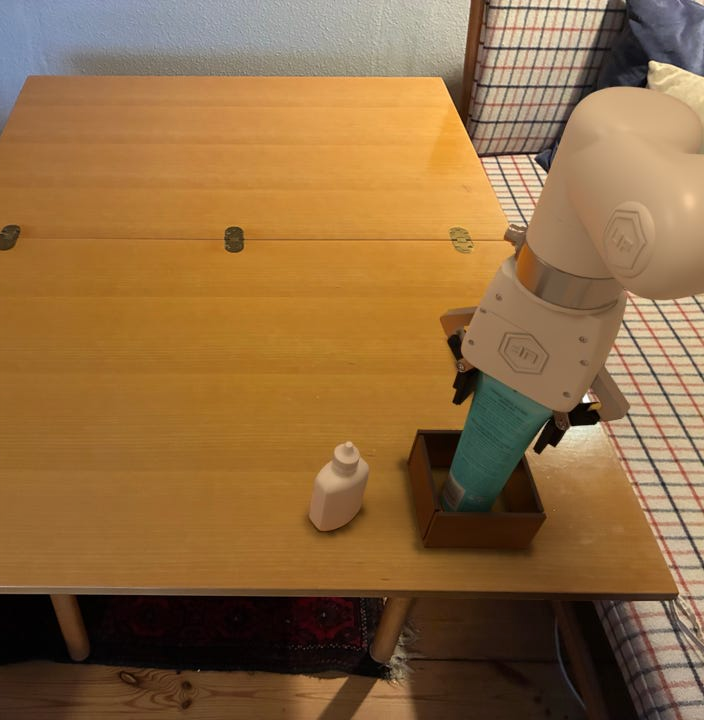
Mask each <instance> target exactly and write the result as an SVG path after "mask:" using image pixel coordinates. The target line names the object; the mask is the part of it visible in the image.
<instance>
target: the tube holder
mask: <svg viewBox="0 0 704 720" xmlns="http://www.w3.org/2000/svg"><path fill="white" fill-rule="evenodd" d="M462 431H463V429H421V428H420V429H416V433H415V436H414V439H413V441H412V445H411V449H410V452H409V455H408V457H407V460H406V465H407V467H408V468H407V469H408V474H409V480H410V485H411V490H412V496H413V500H414V505H415V510H416V515H417V519H418V525H419V531H420V534H421V539H422V544H423V548H447V549H448V548H449V549H451V548H452V549H517V550H518V549H520V550H521V549H523V550H525V549H526V550H527V549H528V548H529V547H530V545H531V544H532V542H533V540H534V539H535V537H536V535H537V534H538V532H539V531H540V529H541V528H542V526H543V524H544V523H545V521H546V519H547V518H548V517H547V513H546V512H545V507H544V505H543V502H542V499H541V496H540V493H539V491H538V487H537V485H536V482H535V479H534V476H533V473H532V471H531V468H530V465H529V462H528V459H527V456H526V452H525V453H524V454H523V456H522V458H521V459H520V461H519V462H518V464H517V465H516V467H515V469H514V470H513V472H512V473H511V475H510V477H509V478H508V480H507V482H506V483H505V485H504V487H503V489H504V493H505V496H506V499H507V502H508V506H509V509H510V512H502V511H501V512H496V511H495V512H494V511H493V512H491V511H489V512H445V511H441V507H440V503H439V497H438V494H437V489H436V484H435V481H434V476H433V472H432V468H431V467H444V468H445V467H449V468H451V465H452V462H453V459H454V456H455V453H456V450H457V447H458V444H459V441H460V438H461V434H462Z"/></svg>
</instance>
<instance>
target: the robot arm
mask: <svg viewBox="0 0 704 720" xmlns="http://www.w3.org/2000/svg"><path fill="white" fill-rule="evenodd" d="M703 133H704V129H703V123H702V120H701V118H700V116H699V114H698V113H697V112H696V110H695V109H693V107H692V106H690V105H689V104H688V103H686V102H684V101H683V100H682V99H679V98H677V97H675V96H673V95H670V94H667V93H665V92H661V91H659V90H655V89H650V88H644V87H638V86H637V87H636V86H612V87H605V88H602V89H599V90H596V91H594V92H592V93H589V94H588V95H587V96H585V97H584V98H583V99H581V100H580V101H579V102H578V103H577V104H576V105H575V107H574V109H573V110H572V112H571V114H570V115H569V118H568V119H567V122H566V125H565V128H564V131H563V134H562V135H561V139H560V141H559V144H558V147H557V148H556V152H555V154H554V157H553V160H552V162H551V165H550V167H549V170H548V173H547V176H546V179H545V181H544V183H543V186H542V189H541V191H540V194H539V197H538V199H537V203H536V205H535V208H534V210H533V213H532V214H531V215H532V216H531V218H530V221H529V224H528V225H527V226H524V225H521V226H520V225H517V224H514V223H511V224H510V225H509V226H508V228H507V229H506V230H505V232H504V235H503V241H505V242H508V243H510V244H511V246H512V247H514V252H515V253H513V254H511V256H508V257H507V258H506V259H504V260H503V262H502V263H501V264H500V266H499V267H498V269H497V270H496V272H495V274H494V275H493V277H492V279H491V280H490V281H489V283H488V285H487V287H486V289H485V291H484V293H483V295H482V297H481V299H480V301H479V303H478V305H476V306H468V307H458V308H457V307H456V308H449V309H448V310H446V311H445V312H444V313H443V314H442V315H441V316H440V317H439V323H440V324H441V327H442V330H443V331H444V334H445V336H447V338H448V339H446V341H447V346H448V347H449V349H450V351H451V353H452V356H453V357H454V358H455V362H454V367H455V369H456V370H457V372H456V375H455V378H454V381H453V384H452V388H453V389H454V390H455V392H454V396H453V397H452V401H451V403H452V404H454V406H461V405H462V404H463V403H464V402H465V401H466V400H467V399H468V398H469V397H470V395H472V393H474V390H475V387H476V384H477V380H478V375H479V371H480V370H481V371H483V372H484V373H486V374H488V375H490V376H491V377H493V378H495V379H497V380H498V381H500V382H502V383H504V384H505V385H507V386H509V387H511V388H512V389H514V390H516V391H518V392H520V393H521V394H523V395H525V396H527V397H529V398H531V399H532V400H534V401H536V402H538V403H540V404H542V405H543V406H545V407H547V408H550V409H552V411H553V416H552V417H551V418H550V419H549V420H548V421H547V422H546V424H545V425H544V426H543V427H542V429H541V432H540V434H539V436H538V438H537V440H536V442H535V443H534V446H533V447H532V450H533V452H534V453H535V454H537V455H538V456H540V455H541V454H542V453H543V451H544V450H545V449H546V448H547V446H548V445H549V446H551V447H553V448H554V449H555V448H556V447H557V446H558V445H559V443H561V441H562V439H563V438H564V437H565V435H566V432H567V431H568V430H570V428H572V427H585V426H588V427H589V426H596V425H597V424H598V423H601V422H602V423H607V422H614V421H618V420H623V419H624V418H625V416H626V415H627V413H628V412H629V411H630V409H631V405H630V403H629V401H628V400H627V398H626V396H625V395H624V394H623V392H622V390H621V389H620V388H619V386H618V384H617V383H616V381H615V380H614V378H613V377H612V375H611V373H610V372H609V371H608V369H607V367H606V366H605V365H606V363H607V361H608V358H609V356H610V354H611V351H612V350H613V347H614V345H615V342H616V340H617V338H618V335H619V332H620V330H621V326H622V323H623V319H624V316H625V312H626V308H627V304H628V295H627V292H629V293H630V294H632V295H634V296H637V297H639V298H641V299H645V300H650V301H672V300H680V299H685V298H689V297H693V296H698V295H703V294H704V153H698V151H699V148H700V146H701V144H702V139H703V135H704V134H703ZM624 289H625V290H626V291H625V290H624ZM465 327H467V329H465ZM590 389H591V390H592V392H593V394H594V395H595V396H596V398H597V400H598V401H590V402H589V401H588V402H584V397H585V396H586V395H587V393H588V391H589V390H590Z"/></svg>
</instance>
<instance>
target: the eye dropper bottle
mask: <svg viewBox="0 0 704 720" xmlns="http://www.w3.org/2000/svg"><path fill="white" fill-rule="evenodd" d="M370 471H371V469H370V466H369V464H368V463H367V461H366V460H365V459H364V458H363V457H362V456H361V453H360V450H359V449H358V447H357V446H356V445H354V444H353V442H352V441H349V440H348V441H345V442H344V443H339V444H338V445H336V446H335V448H334V451H333V454H332V459H331V460H330V461H329V462H327V463H326V464H325V465H323V467H322V468H321V469H320V470H319V472H318V473H317V474H316V477H315V479H314V483H313V489H312V495H311V500H310V501H311V502H310V506H309V513H308V517H309V520H310V521H311V522H312V524H313V525H314V526H315V528H317V530H318V531H321V532H327V531H328V532H329V531H333V530H336V529H338V528H341V527H343V526H345V525H347V524H348V523H349V522H351V521H352V520H353V519H354V517H356V515H357V514H358V513H359V512H360V509H361V507H362V504H363V500H364V497H365V493H366V488H367V484H368V480H369V475H370Z"/></svg>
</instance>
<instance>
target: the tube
mask: <svg viewBox="0 0 704 720" xmlns="http://www.w3.org/2000/svg"><path fill="white" fill-rule="evenodd" d="M552 416H553V411H552V409H550V408H547V407H545V406H543V405H542V404H540V403H538V402H536V401H534V400H532V399H531V398H529V397H527V396H525V395H523V394H521V393H520V392H518V391H516V390H514V389H512V388H511V387H509V386H507V385H505V384H504V383H502V382H500V381H498V380H497V379H495V378H493V377H491V376H490V375H488V374H486V373H484V372H483V371H481V370H480V371H479V375H478V380H477V384H476V387H475V391H473V395H472V399H471V402H470V405H469V409H468V412H467V415H466V418H465V422H464V425H463V429H462V430H463V431H462V434H461V438H460V441H459V444H458V447H457V450H456V453H455V456H454V459H453V462H452V465H451V467H450V468H449V472H448V475H447V478H446V481H445V484H444V487H443V490H442V492H441V493H442V494H441V498H440V502H441V505H442V508H443V510H444V512H491V510H492V507H493V506H494V504H495V502H496V500H497V498H498V497H499V496H500V494H501V492H502V490H503V489H504V485H505V483H506V482H507V480H508V478H509V477H510V475H511V473H512V472H513V470H514V469H515V467H516V465H517V464H518V462H519V461H520V459H521V458H522V456H523V454H524V453H525V454H526V452H527V450H528V448H529V447H530V446H531V444H532V443H533V441H534V440H535V438H536V437H537V436H538V434H539V433H540V431H542V430H543V428H544V426H545V425H546V423H547V422H548V421H549V419H550V418H551V417H552Z"/></svg>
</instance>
